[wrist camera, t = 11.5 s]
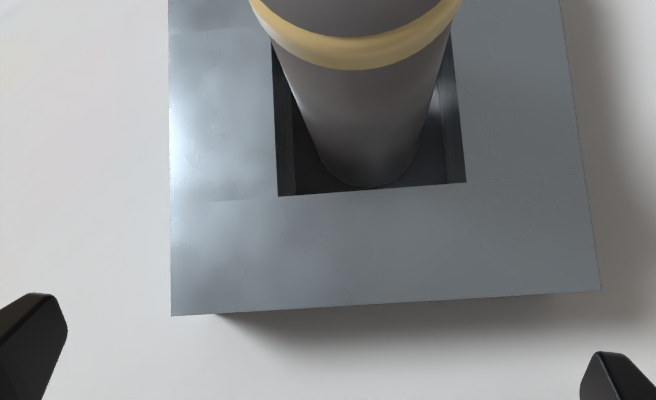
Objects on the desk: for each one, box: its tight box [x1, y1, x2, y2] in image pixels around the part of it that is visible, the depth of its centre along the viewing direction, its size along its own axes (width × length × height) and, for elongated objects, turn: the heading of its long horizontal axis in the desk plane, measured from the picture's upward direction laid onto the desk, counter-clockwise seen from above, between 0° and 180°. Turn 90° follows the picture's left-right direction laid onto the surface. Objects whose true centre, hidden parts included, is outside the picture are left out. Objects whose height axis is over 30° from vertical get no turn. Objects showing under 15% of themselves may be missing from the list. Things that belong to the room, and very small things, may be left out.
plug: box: [249, 0, 463, 188], centre depth 17 cm, size 5×5×14 cm
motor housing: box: [168, 0, 601, 316], centre depth 22 cm, size 18×14×4 cm
